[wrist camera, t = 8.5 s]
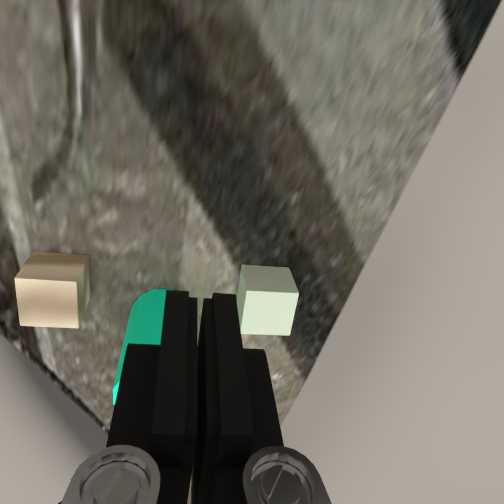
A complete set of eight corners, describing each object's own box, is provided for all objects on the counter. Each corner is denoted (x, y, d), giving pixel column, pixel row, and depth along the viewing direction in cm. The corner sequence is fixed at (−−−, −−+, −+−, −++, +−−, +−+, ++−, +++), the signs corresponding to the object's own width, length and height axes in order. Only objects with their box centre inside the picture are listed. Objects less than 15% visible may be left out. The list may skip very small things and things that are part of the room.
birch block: (34, 251, 37) (14, 278, 33) (88, 254, 38) (76, 281, 34) (38, 295, 39) (20, 325, 35) (90, 297, 40) (78, 328, 36)
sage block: (241, 264, 40) (246, 290, 36) (288, 267, 41) (298, 293, 37) (235, 304, 42) (240, 333, 38) (280, 306, 43) (289, 335, 39)
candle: (199, 333, 43) (201, 433, 32) (139, 344, 43) (121, 449, 32) (186, 282, 40) (183, 375, 29) (122, 294, 40) (96, 392, 29)
